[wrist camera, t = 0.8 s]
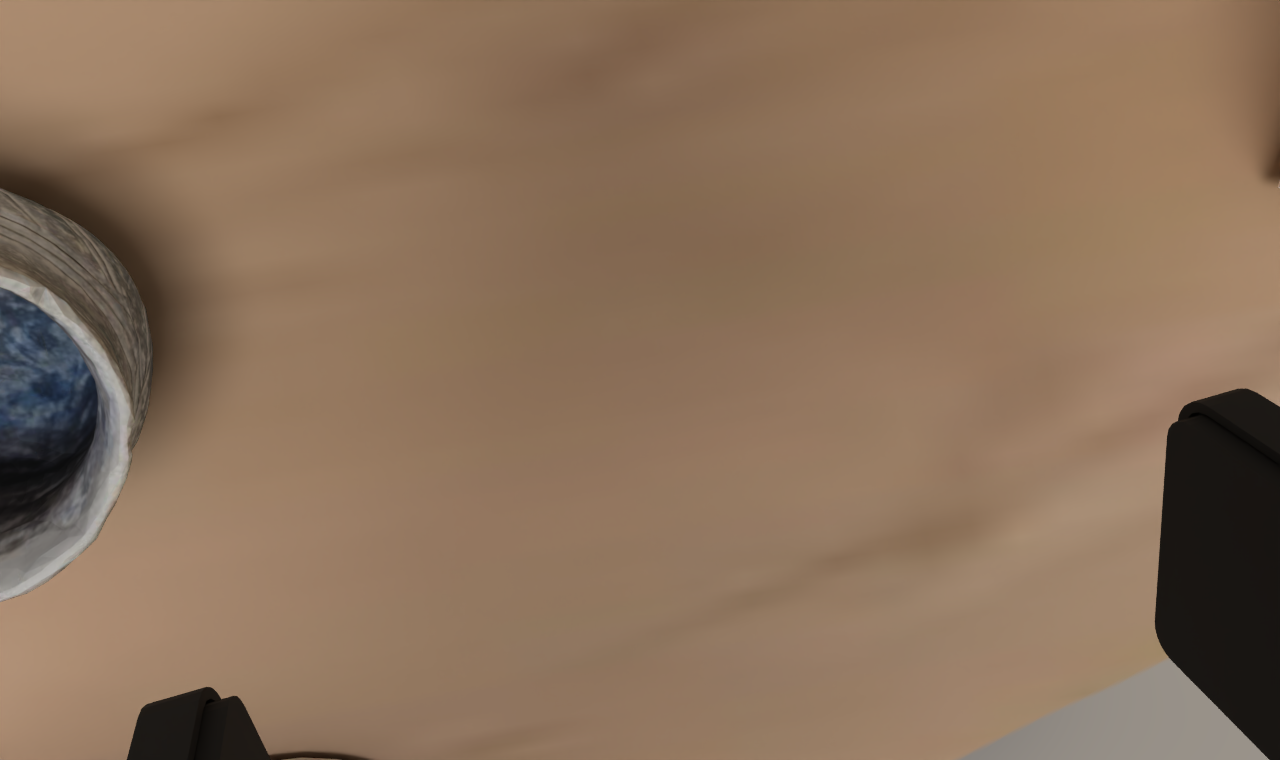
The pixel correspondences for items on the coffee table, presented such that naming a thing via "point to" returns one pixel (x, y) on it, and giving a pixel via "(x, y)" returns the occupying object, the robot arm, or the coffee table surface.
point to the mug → (63, 389)
